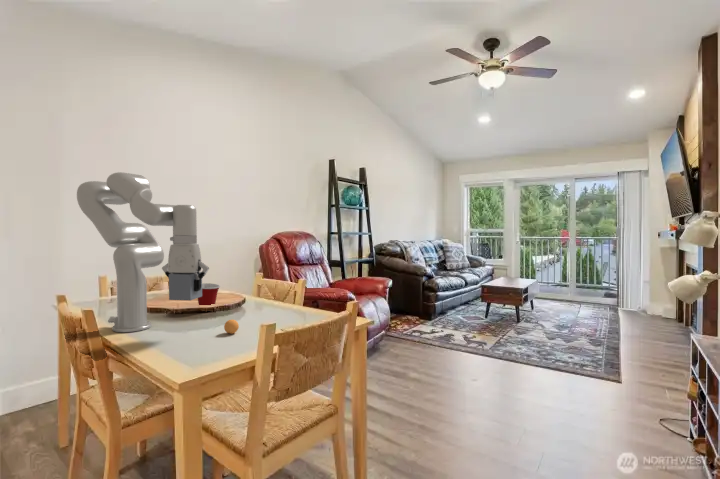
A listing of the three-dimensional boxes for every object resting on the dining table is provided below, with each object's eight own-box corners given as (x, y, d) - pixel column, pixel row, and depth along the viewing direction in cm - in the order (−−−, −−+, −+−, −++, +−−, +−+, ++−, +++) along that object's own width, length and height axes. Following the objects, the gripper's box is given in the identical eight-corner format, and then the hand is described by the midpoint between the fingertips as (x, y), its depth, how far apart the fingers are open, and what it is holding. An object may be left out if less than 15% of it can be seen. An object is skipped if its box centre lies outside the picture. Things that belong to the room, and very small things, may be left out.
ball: (221, 335, 136) (221, 321, 135) (227, 331, 141) (227, 317, 140) (235, 335, 135) (235, 321, 135) (240, 331, 140) (240, 318, 140)
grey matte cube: (169, 299, 130) (168, 274, 130) (181, 295, 138) (181, 271, 137) (190, 300, 129) (190, 274, 129) (202, 296, 137) (201, 271, 137)
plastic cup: (211, 314, 166) (211, 287, 165) (189, 313, 168) (189, 286, 167) (225, 309, 176) (225, 283, 176) (204, 307, 179) (203, 282, 178)
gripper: (154, 240, 130) (155, 292, 130) (203, 241, 128) (204, 292, 129) (167, 240, 137) (168, 288, 138) (214, 240, 136) (214, 289, 136)
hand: (185, 290), depth 133 cm, fingers closed on grey matte cube, 7 cm apart
